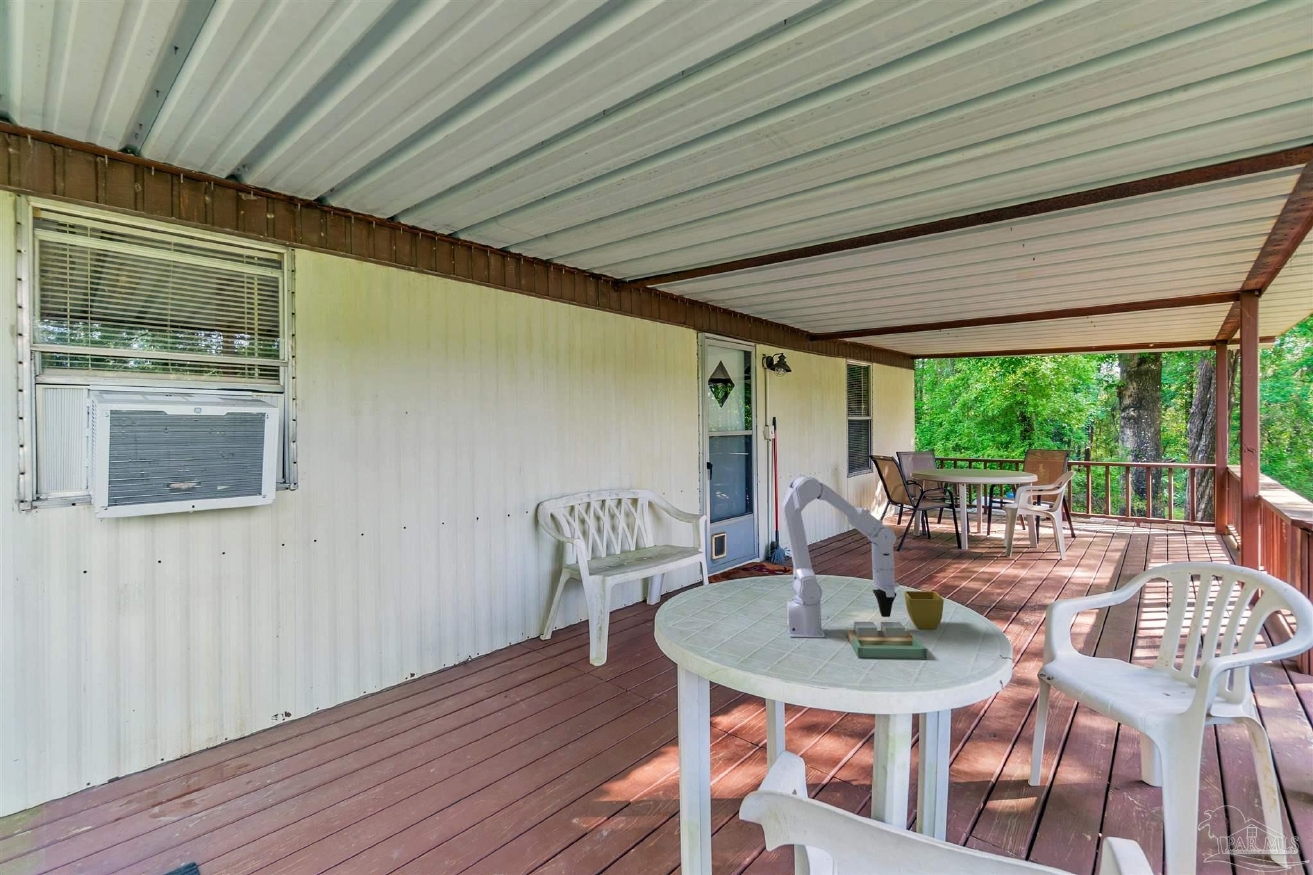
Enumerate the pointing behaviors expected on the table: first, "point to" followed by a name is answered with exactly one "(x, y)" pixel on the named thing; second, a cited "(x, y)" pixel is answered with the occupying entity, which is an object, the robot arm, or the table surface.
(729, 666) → the table surface
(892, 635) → the tile right
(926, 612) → the flower pot
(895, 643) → the board
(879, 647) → the tray
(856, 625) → the tile left
